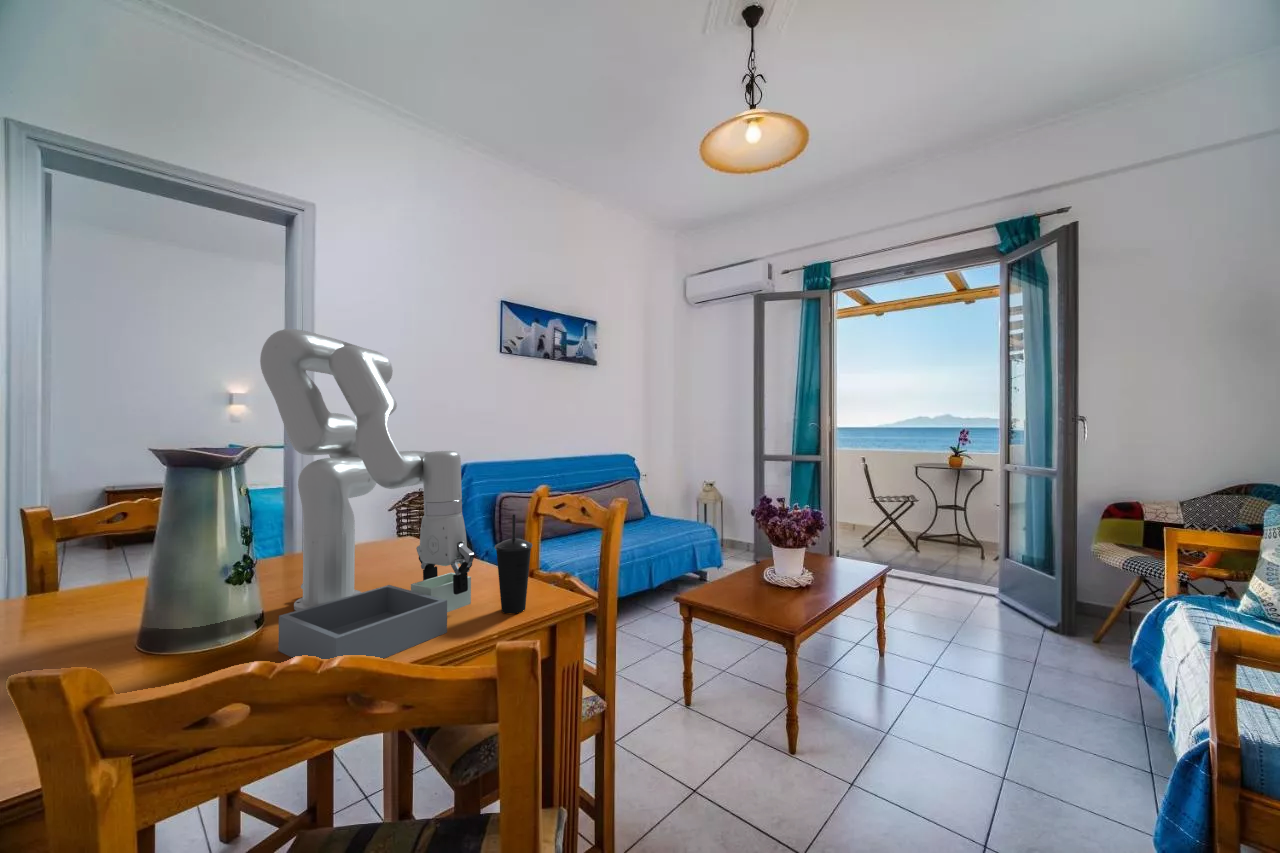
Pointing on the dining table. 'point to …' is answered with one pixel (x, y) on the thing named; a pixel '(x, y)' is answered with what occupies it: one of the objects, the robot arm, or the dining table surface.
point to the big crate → (363, 624)
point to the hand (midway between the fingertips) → (445, 589)
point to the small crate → (444, 590)
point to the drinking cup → (513, 571)
